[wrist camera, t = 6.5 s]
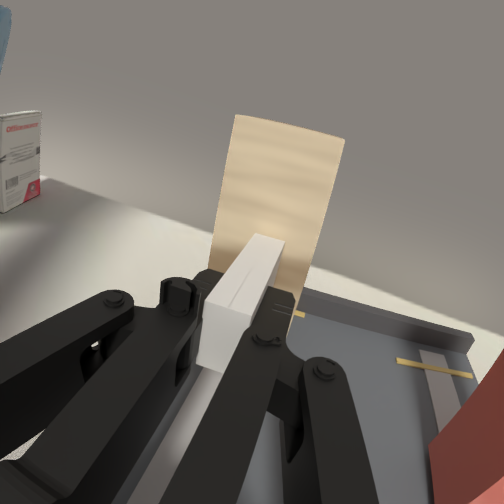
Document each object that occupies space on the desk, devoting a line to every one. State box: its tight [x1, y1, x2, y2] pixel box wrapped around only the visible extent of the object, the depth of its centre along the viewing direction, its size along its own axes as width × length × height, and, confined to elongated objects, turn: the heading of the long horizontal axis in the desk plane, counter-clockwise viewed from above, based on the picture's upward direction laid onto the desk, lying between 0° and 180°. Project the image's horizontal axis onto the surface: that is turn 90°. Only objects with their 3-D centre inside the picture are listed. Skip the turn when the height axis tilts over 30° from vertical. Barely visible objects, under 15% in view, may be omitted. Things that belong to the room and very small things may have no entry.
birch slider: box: [208, 115, 345, 337], centre depth 18 cm, size 5×5×12 cm
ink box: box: [0, 111, 42, 213], centre depth 32 cm, size 9×5×12 cm, turn 178°
